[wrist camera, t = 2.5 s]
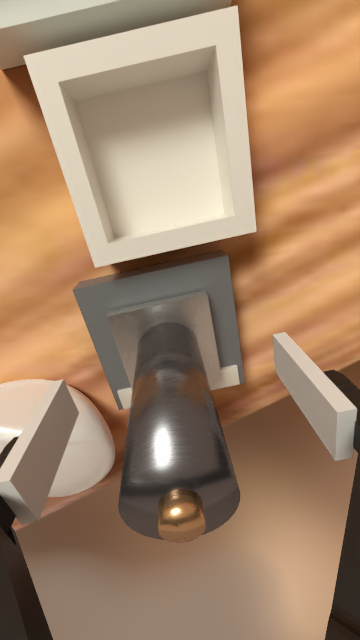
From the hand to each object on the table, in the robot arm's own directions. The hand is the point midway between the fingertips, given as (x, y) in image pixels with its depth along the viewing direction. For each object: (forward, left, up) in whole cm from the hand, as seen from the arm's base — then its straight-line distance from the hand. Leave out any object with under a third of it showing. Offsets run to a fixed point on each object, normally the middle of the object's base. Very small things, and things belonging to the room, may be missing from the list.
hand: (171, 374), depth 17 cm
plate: (0, 0, -4) cm, 4 cm away
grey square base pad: (0, 0, -7) cm, 7 cm away
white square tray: (+2, +12, -7) cm, 14 cm away
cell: (0, 0, -3) cm, 3 cm away
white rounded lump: (-13, -7, -7) cm, 16 cm away
